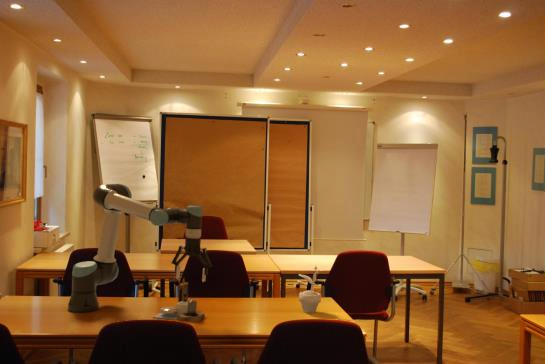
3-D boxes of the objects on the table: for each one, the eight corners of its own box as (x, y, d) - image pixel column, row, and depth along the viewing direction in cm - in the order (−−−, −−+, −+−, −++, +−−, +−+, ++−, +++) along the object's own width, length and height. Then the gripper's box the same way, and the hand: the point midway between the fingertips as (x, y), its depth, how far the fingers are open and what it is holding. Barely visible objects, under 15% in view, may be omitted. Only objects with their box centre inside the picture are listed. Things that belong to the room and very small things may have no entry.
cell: (185, 318, 271) (186, 300, 271) (189, 316, 276) (189, 298, 276) (194, 319, 271) (195, 301, 270) (197, 316, 275) (198, 299, 275)
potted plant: (323, 311, 298) (325, 264, 297) (315, 315, 287) (317, 267, 287) (301, 308, 303) (303, 262, 303) (293, 312, 292) (295, 265, 292)
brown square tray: (178, 320, 269) (178, 316, 269) (185, 315, 279) (185, 311, 279) (197, 322, 267) (197, 318, 267) (204, 317, 277) (204, 313, 277)
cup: (175, 316, 277) (176, 304, 277) (180, 313, 283) (180, 301, 283) (187, 317, 276) (187, 305, 276) (191, 314, 282) (191, 302, 281)
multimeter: (193, 313, 284) (194, 274, 284) (175, 311, 286) (176, 272, 286) (202, 306, 299) (204, 269, 298) (185, 304, 301) (186, 268, 300)
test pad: (157, 313, 273) (157, 310, 273) (164, 309, 282) (164, 306, 282) (174, 315, 271) (174, 311, 271) (181, 310, 280) (181, 307, 280)
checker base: (153, 317, 272) (153, 316, 272) (162, 312, 284) (162, 311, 284) (176, 320, 269) (176, 319, 269) (185, 314, 281) (185, 313, 281)
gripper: (166, 235, 273) (164, 278, 274) (214, 240, 268) (212, 284, 269) (172, 234, 281) (170, 276, 281) (219, 238, 275) (217, 281, 276)
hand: (190, 280), depth 275 cm, fingers open, 13 cm apart
